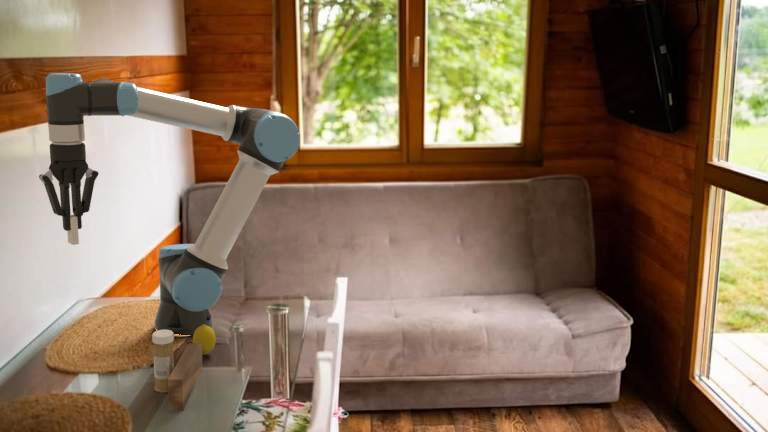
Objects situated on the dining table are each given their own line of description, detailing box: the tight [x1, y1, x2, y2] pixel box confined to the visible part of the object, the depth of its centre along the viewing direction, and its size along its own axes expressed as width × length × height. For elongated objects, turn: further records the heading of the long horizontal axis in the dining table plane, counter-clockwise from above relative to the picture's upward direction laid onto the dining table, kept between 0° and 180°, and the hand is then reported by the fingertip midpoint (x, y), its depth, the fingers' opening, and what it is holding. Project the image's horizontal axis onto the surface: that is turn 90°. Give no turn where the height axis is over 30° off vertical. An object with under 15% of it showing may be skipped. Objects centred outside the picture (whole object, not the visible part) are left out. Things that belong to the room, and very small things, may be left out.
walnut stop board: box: [167, 342, 203, 411], centre depth 174 cm, size 3×20×7 cm, turn 1°
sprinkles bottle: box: [151, 330, 175, 394], centre depth 173 cm, size 5×5×13 cm
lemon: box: [192, 324, 217, 356], centre depth 193 cm, size 6×6×8 cm
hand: (73, 243), depth 182 cm, fingers closed
